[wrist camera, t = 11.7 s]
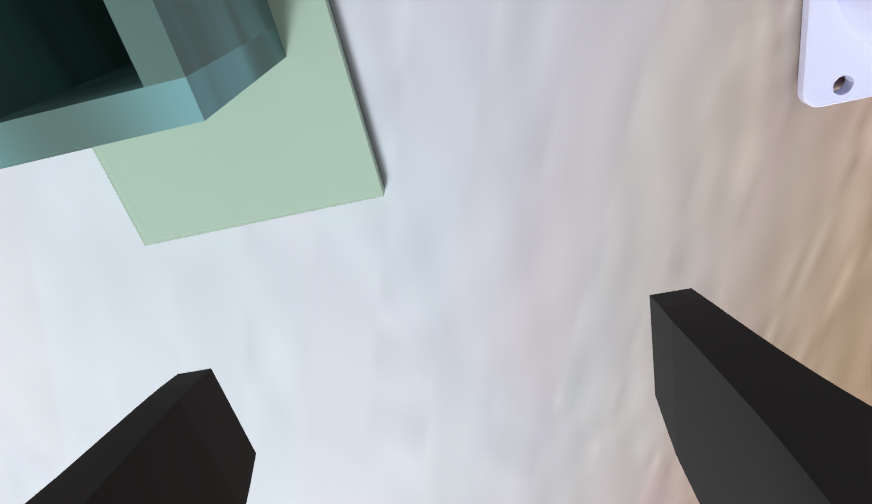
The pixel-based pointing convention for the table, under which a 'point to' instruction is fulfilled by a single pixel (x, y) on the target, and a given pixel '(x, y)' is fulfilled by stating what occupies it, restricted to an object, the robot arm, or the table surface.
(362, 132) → the end mat
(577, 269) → the table surface
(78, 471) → the robot arm
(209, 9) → the collar
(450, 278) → the table surface
